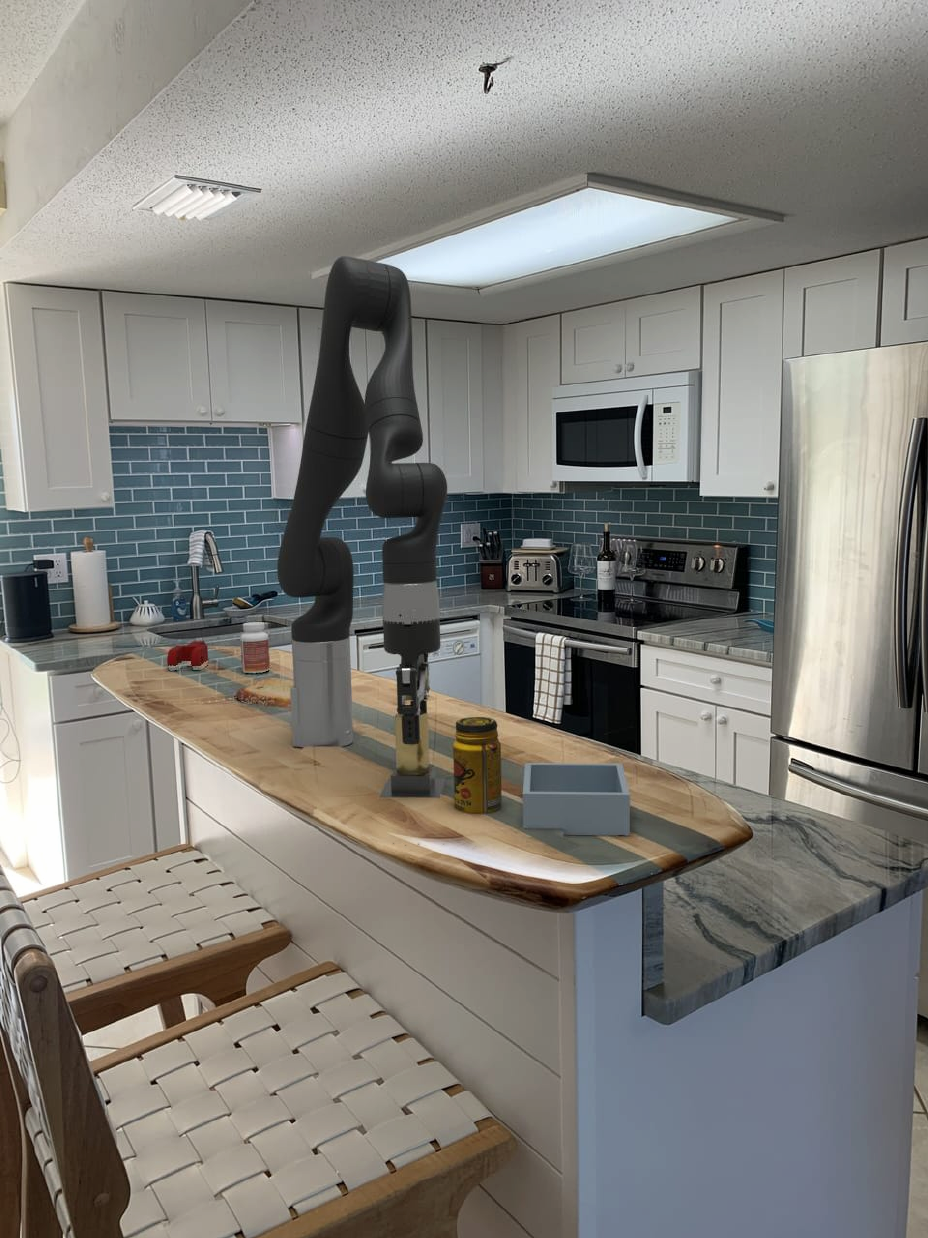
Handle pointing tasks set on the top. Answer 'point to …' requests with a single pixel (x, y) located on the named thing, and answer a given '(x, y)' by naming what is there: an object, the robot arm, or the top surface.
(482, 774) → the condiment
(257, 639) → the pill bottle
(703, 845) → the top surface
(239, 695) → the bread slice
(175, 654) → the red arch block
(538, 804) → the bin
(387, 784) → the stud plate
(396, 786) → the gold cylindrical piece
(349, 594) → the robot arm
